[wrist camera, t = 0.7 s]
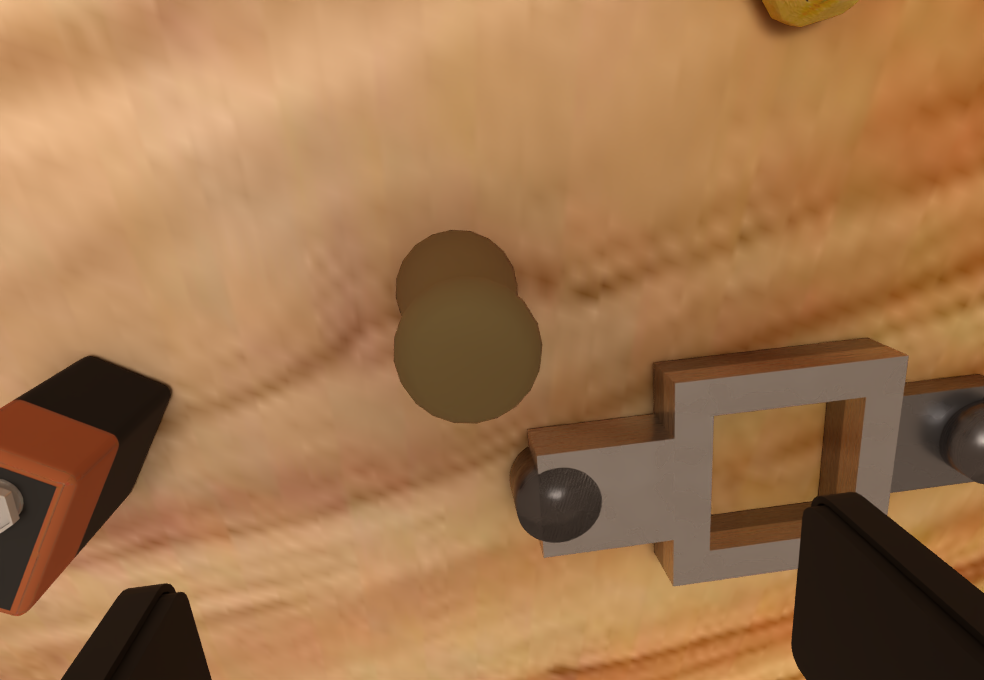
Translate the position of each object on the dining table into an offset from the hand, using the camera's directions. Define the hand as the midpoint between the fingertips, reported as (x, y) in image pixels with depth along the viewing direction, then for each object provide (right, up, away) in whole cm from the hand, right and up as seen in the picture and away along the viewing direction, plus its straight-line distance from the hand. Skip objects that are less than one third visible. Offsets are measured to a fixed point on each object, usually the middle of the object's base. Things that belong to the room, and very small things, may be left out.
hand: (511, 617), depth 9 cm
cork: (-2, +7, +21) cm, 22 cm away
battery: (-20, 0, +22) cm, 29 cm away
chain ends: (+15, -2, +25) cm, 30 cm away
